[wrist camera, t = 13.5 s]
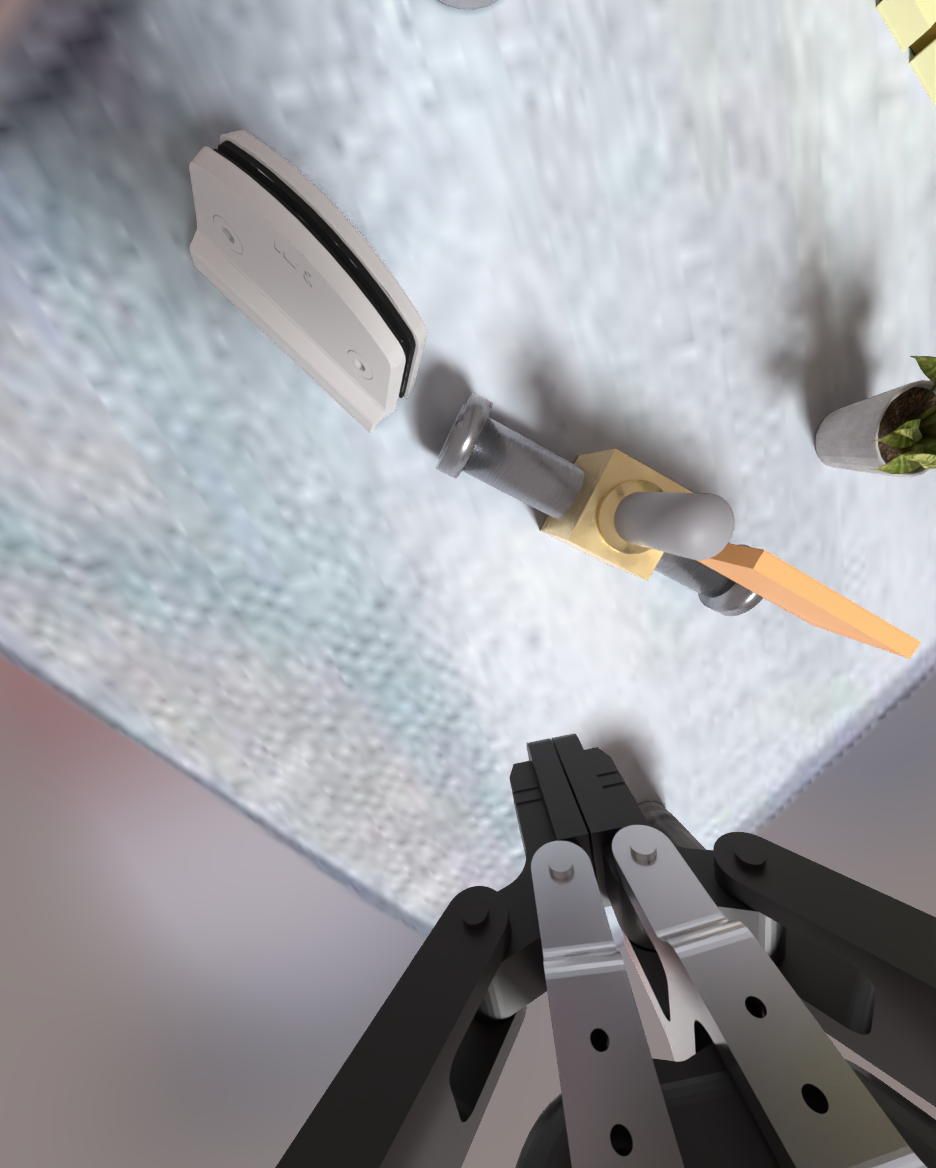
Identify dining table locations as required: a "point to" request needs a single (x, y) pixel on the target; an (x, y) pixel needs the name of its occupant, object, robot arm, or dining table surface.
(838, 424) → the house plant
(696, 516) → the lever
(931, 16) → the slatted curved stool
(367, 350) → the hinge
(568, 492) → the valve
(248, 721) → the dining table surface
